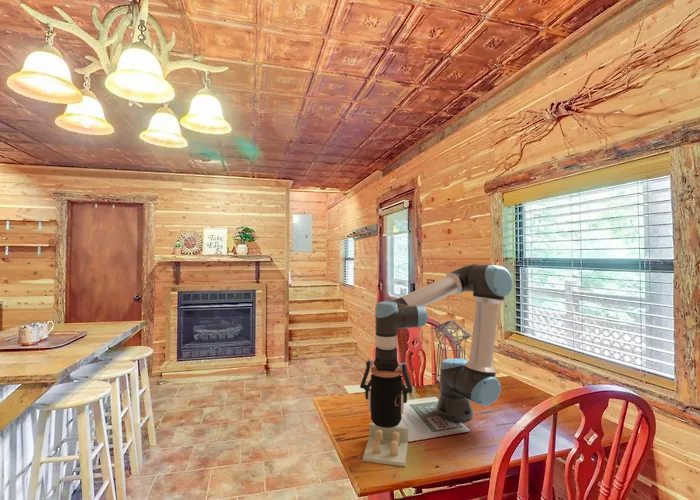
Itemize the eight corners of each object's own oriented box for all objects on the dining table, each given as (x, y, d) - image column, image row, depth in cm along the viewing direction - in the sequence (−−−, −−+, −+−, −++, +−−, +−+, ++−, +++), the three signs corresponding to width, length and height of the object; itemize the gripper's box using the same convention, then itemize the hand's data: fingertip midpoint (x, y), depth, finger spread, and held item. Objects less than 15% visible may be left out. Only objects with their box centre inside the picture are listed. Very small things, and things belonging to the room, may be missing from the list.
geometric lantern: (460, 383, 185) (461, 317, 184) (471, 396, 170) (472, 324, 169) (430, 383, 185) (431, 317, 184) (438, 396, 169) (440, 324, 168)
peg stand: (407, 443, 128) (407, 426, 128) (405, 466, 114) (405, 448, 114) (369, 438, 131) (369, 422, 131) (362, 460, 117) (362, 442, 117)
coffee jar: (400, 430, 116) (400, 376, 116) (368, 427, 118) (368, 373, 118) (402, 415, 127) (402, 365, 127) (372, 412, 129) (373, 363, 129)
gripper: (420, 346, 124) (420, 408, 124) (356, 341, 129) (355, 402, 129) (419, 352, 116) (419, 418, 116) (351, 347, 122) (351, 411, 122)
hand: (386, 410), depth 123 cm, fingers closed on coffee jar, 11 cm apart
